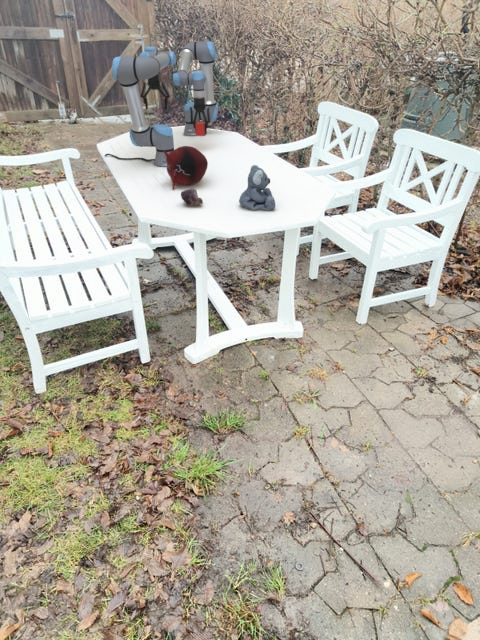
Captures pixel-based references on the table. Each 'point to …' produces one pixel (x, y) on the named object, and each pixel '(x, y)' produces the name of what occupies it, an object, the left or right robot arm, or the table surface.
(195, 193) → the rock
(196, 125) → the brick
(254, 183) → the koala plush
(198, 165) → the dark red rounded piece
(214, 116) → the right robot arm
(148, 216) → the table surface
